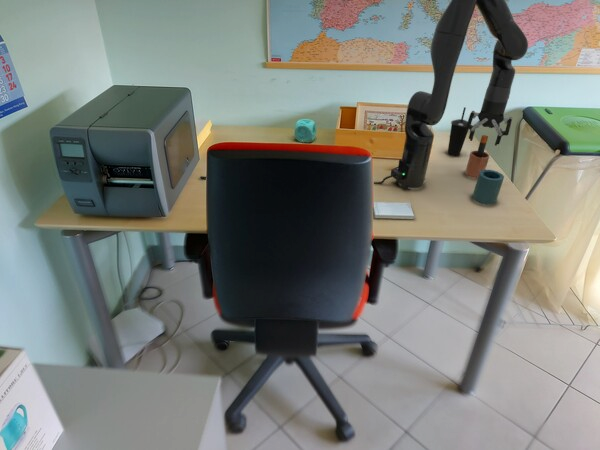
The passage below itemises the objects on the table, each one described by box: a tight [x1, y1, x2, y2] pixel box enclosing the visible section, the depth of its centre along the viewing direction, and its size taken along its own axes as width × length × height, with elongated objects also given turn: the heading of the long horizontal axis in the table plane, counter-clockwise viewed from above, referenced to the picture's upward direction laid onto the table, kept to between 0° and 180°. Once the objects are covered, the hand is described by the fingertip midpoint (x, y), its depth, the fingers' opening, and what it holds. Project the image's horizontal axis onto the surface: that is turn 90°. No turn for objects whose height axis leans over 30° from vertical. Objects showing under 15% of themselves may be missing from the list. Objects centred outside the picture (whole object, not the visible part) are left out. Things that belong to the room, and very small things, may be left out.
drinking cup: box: [447, 107, 470, 157], centre depth 166 cm, size 8×8×20 cm
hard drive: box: [372, 201, 415, 220], centre depth 133 cm, size 2×8×12 cm
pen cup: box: [464, 150, 490, 179], centre depth 153 cm, size 7×7×9 cm
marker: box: [476, 134, 489, 158], centre depth 151 cm, size 2×2×15 cm
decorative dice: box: [294, 118, 317, 144], centre depth 181 cm, size 8×8×8 cm
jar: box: [472, 169, 505, 205], centre depth 137 cm, size 8×8×10 cm
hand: (483, 142), depth 148 cm, fingers open, 8 cm apart
